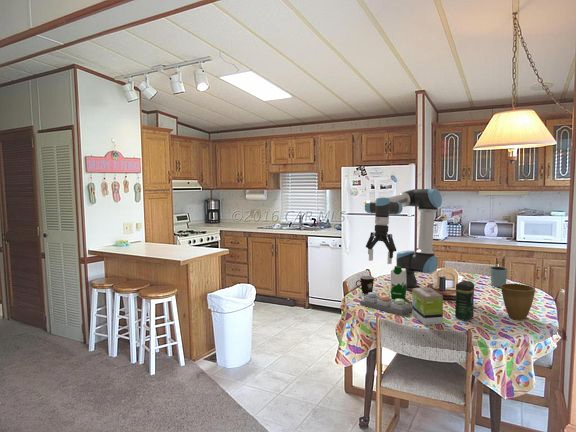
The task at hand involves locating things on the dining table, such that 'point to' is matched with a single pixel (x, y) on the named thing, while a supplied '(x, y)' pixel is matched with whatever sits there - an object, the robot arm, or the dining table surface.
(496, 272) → the blue-grey cylindrical pot
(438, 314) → the tea box
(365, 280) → the coffee mug
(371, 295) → the slate button
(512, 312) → the plant pot
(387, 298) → the terracotta button
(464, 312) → the coffee jar
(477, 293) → the dining table surface
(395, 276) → the milk carton
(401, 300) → the sage button
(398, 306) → the button board
